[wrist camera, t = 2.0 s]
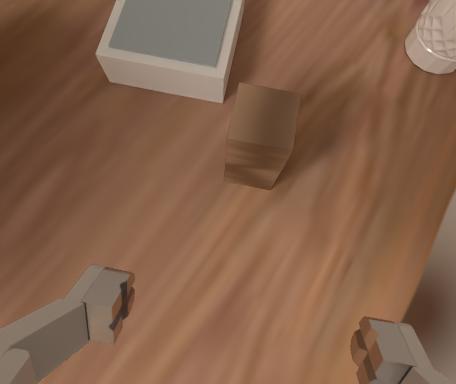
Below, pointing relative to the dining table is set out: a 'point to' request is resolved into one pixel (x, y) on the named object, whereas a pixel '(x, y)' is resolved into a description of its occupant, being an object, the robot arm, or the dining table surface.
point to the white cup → (434, 38)
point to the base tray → (172, 45)
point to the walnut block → (260, 135)
